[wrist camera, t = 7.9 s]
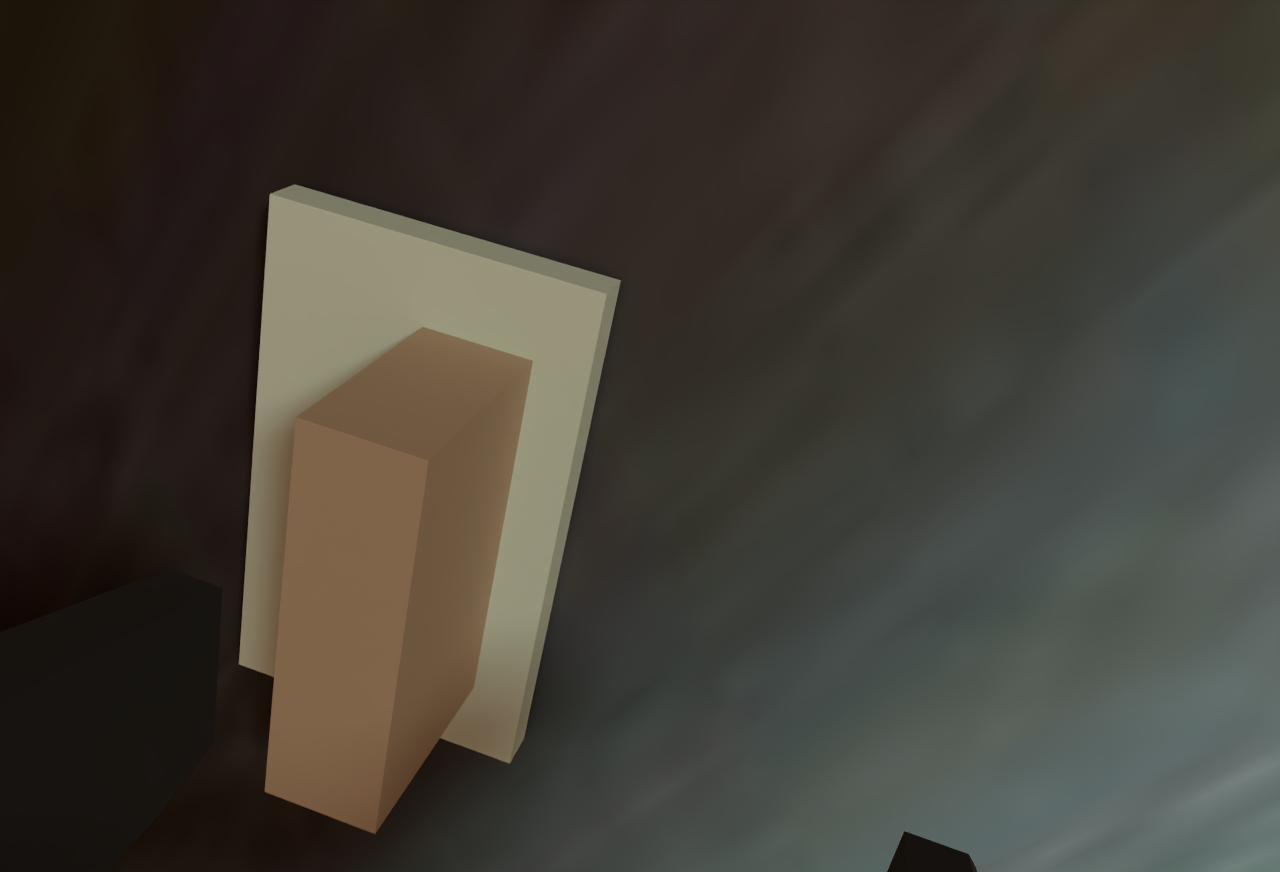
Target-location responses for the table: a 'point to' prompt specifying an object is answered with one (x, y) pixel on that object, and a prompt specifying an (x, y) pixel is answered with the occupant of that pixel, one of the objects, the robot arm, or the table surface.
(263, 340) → the stub
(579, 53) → the table surface
